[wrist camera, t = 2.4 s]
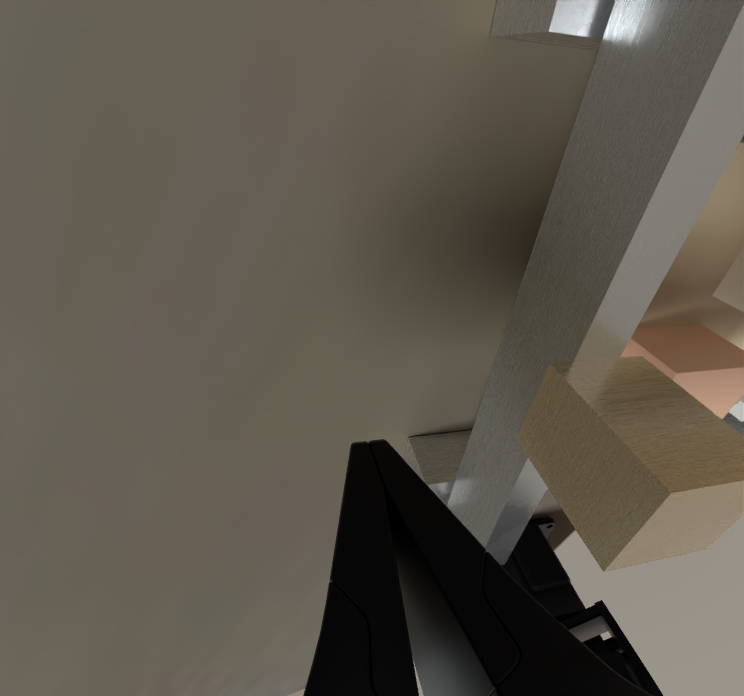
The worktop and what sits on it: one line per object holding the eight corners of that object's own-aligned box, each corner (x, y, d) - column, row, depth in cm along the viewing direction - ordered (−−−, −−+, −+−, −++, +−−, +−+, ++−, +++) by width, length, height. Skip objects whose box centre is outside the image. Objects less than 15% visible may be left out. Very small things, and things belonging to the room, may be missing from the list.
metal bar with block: (487, 498, 20) (574, 669, 15) (433, 507, 20) (502, 689, 14) (716, -36, 9) (1508, -189, 3) (603, -59, 8) (1359, -306, 3)
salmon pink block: (652, 398, 21) (703, 442, 18) (578, 405, 20) (622, 453, 17) (701, 324, 18) (767, 364, 16) (619, 329, 17) (676, 373, 15)
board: (706, 381, 25) (737, 403, 23) (485, 403, 21) (503, 431, 20) (880, 148, 17) (943, 158, 15) (581, 124, 14) (622, 133, 12)
